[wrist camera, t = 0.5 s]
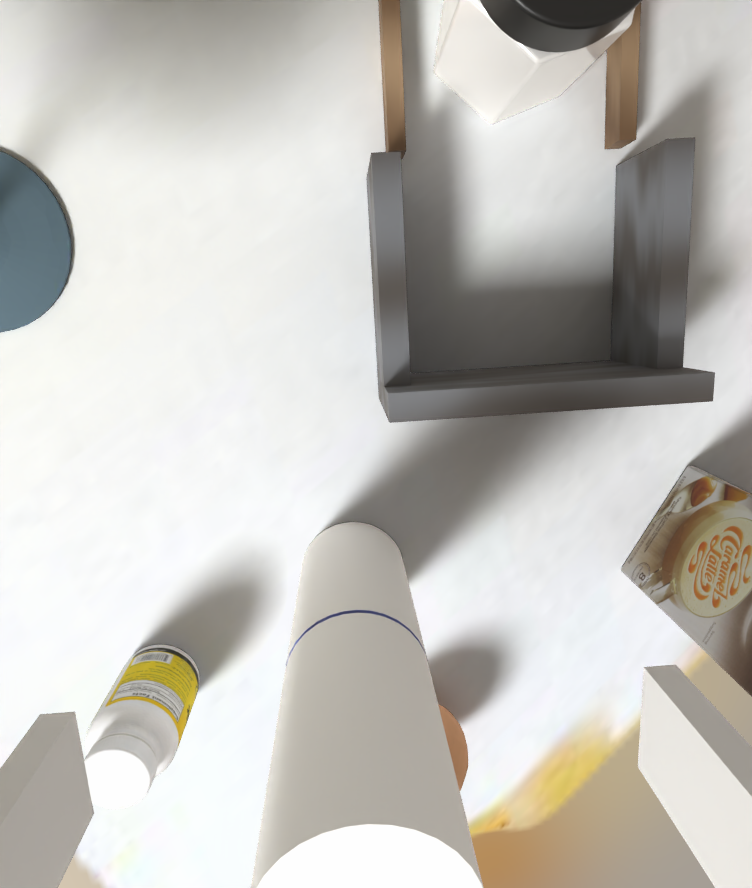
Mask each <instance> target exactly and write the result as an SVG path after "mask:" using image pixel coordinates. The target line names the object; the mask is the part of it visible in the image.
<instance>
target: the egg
mask: <svg viewBox="0 0 752 888" xmlns="http://www.w3.org/2000/svg"><path fill="white" fill-rule="evenodd" d="M438 705H439V704H438ZM439 709H440V714H441V718H442V722H443V726H444V730H445V734H446V738H447V742H448V746H449V750H450V754H451V758H452V762H453V767H454V771H455V775H456V779H457V783H458V787H459V791H460V790H461V788H462V785H463V782H464V779H465V776H466V772H467V768H468V750H467V744H466V740H465V736H464V733H463V731H462V728H461V726H460V724H459V723H458V722H457V720H456V719H455V718H454V716H453V715H452V714H451V712H449V711H448V710H447V709H446V708H445V707H443V706H441V705H439Z"/></svg>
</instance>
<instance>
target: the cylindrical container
mask: <svg viewBox="0 0 752 888" xmlns="http://www.w3.org/2000/svg"><path fill="white" fill-rule="evenodd" d="M251 888H483V884H482V880H481V876H480V872H479V868H478V864H477V860H476V856H475V852H474V848H473V844H472V839H471V835H470V831H469V827H468V823H467V819H466V815H465V811H464V807H463V803H462V799H461V795H460V791H459V787H458V783H457V779H456V775H455V771H454V767H453V762H452V758H451V754H450V750H449V746H448V742H447V738H446V734H445V730H444V726H443V722H442V718H441V714H440V709H439V705H438V701H437V697H436V693H435V689H434V685H433V681H432V677H431V673H430V669H429V665H428V660H427V656H426V652H425V648H424V644H423V640H422V636H421V632H420V628H419V624H418V620H417V616H416V612H415V608H414V604H413V600H412V596H411V592H410V588H409V583H408V579H407V575H406V571H405V567H404V563H403V559H402V556H401V552H400V550H399V548H398V547H397V545H396V543H395V542H394V541H393V540H392V538H391V537H390V536H389V535H388V534H386V533H385V532H384V531H382V530H381V529H379V528H377V527H375V526H373V525H370V524H366V523H361V522H346V523H341V524H337V525H334V526H332V527H330V528H328V529H326V530H324V531H323V532H321V533H320V534H319V535H318V536H316V537H315V539H314V540H313V541H312V542H311V543H310V545H309V546H308V548H307V550H306V552H305V554H304V558H303V561H302V567H301V573H300V580H299V586H298V592H297V599H296V605H295V611H294V618H293V624H292V630H291V637H290V643H289V649H288V656H287V662H286V669H285V675H284V681H283V687H282V694H281V700H280V706H279V713H278V719H277V726H276V732H275V738H274V745H273V751H272V757H271V764H270V770H269V776H268V783H267V789H266V795H265V802H264V808H263V814H262V821H261V827H260V833H259V840H258V846H257V852H256V859H255V865H254V871H253V878H252V884H251Z"/></svg>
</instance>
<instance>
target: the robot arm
mask: <svg viewBox="0 0 752 888" xmlns="http://www.w3.org/2000/svg"><path fill="white" fill-rule="evenodd" d="M638 757H639V758H638V768H639V769H640V771H641V772H642V774H643V776H644V777H645V779H646V780H647V782H648V783H649V785H650V786H651V788H652V790H653V791H654V793H655V794H656V796H657V797H658V799H659V800H660V802H661V804H662V805H663V807H664V808H665V810H666V811H667V813H668V815H669V816H670V818H671V819H672V821H673V822H674V824H675V825H676V827H677V829H678V830H679V832H680V833H681V835H682V836H683V838H684V840H685V841H686V843H687V844H688V846H689V847H690V849H691V850H692V852H693V853H694V855H695V857H696V858H697V860H698V861H699V863H700V864H701V866H702V868H703V869H704V870H705V872H706V874H707V875H708V877H709V879H710V880H711V881H712V883H713V885H714V886H715V888H752V747H751V745H750V744H749V743H748V742H747V741H746V740H745V739H744V738H743V737H742V736H741V735H740V734H739V733H738V731H737V730H736V729H735V728H734V727H733V726H732V725H731V724H730V723H729V722H728V721H727V720H726V719H725V717H724V716H723V715H722V714H721V713H720V712H719V711H718V710H717V709H716V708H715V707H714V706H713V704H712V703H711V702H710V701H709V700H708V699H707V698H706V697H705V696H704V695H703V694H702V693H701V692H700V690H699V689H698V688H697V687H696V686H695V685H694V684H693V683H692V682H691V681H690V680H689V679H688V678H687V676H686V675H685V674H684V673H683V672H682V671H681V670H680V669H679V668H678V667H677V666H676V665H666V666H653V667H644V673H643V689H642V706H641V723H640V741H639V756H638ZM93 814H94V811H93V806H92V801H91V795H90V790H89V785H88V779H87V774H86V769H85V763H84V758H83V753H82V747H81V742H80V737H79V731H78V726H77V721H76V715H75V712H65V713H53V714H40V715H39V717H38V718H37V719H36V721H35V722H34V724H33V725H32V726H31V728H30V729H29V730H28V732H27V733H26V734H25V736H24V737H23V739H22V740H21V741H20V743H19V744H18V745H17V747H16V748H15V749H14V751H13V752H12V754H11V755H10V756H9V758H8V759H7V760H6V762H5V763H4V764H3V766H2V767H1V769H0V888H58V886H59V884H60V882H61V880H62V878H63V876H64V874H65V872H66V870H67V868H68V866H69V864H70V862H71V860H72V858H73V856H74V853H75V851H76V849H77V847H78V845H79V843H80V841H81V839H82V837H83V835H84V833H85V831H86V829H87V827H88V825H89V823H90V820H91V818H92V816H93Z"/></svg>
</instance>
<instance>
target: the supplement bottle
mask: <svg viewBox="0 0 752 888" xmlns="http://www.w3.org/2000/svg"><path fill="white" fill-rule="evenodd" d="M199 683H200V676H199V671H198V668H197V666H196V664H195V662H194V661H193V659H192V658H191V657H190V656H189V655H188V654H187V653H185V652H184V651H182V650H180V649H179V648H176V647H173V646H169V645H152V646H148V647H145V648H143V649H141V650H139V651H138V652H136V653H135V654H134V655H133V656H132V657H131V658H130V659H129V660H128V662H127V663H126V665H125V666H124V668H123V669H122V671H121V673H120V675H119V676H118V678H117V680H116V681H115V683H114V685H113V686H112V688H111V690H110V692H109V693H108V695H107V697H106V698H105V700H104V702H103V704H102V705H101V707H100V709H99V710H98V712H97V714H96V716H95V717H94V719H93V721H92V722H91V724H90V727H89V729H88V731H87V735H86V740H85V749H86V754H87V756H86V758H85V760H84V763H85V769H86V774H87V779H88V785H89V790H90V795H91V801H92V802H93V803H94V804H96V805H98V806H101V807H104V808H108V809H123V808H127V807H130V806H133V805H135V804H137V803H138V802H139V801H141V800H142V799H143V798H144V797H145V796H146V794H147V793H148V791H149V789H150V787H151V784H152V782H153V780H154V778H155V777H156V776H158V775H159V774H161V773H162V772H163V771H164V770H165V769H166V768H167V767H168V766H169V764H170V763H171V761H172V760H173V758H174V756H175V753H176V751H177V748H178V746H179V743H180V740H181V737H182V734H183V731H184V728H185V726H186V723H187V720H188V717H189V714H190V712H191V709H192V706H193V703H194V701H195V698H196V695H197V692H198V689H199Z"/></svg>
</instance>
